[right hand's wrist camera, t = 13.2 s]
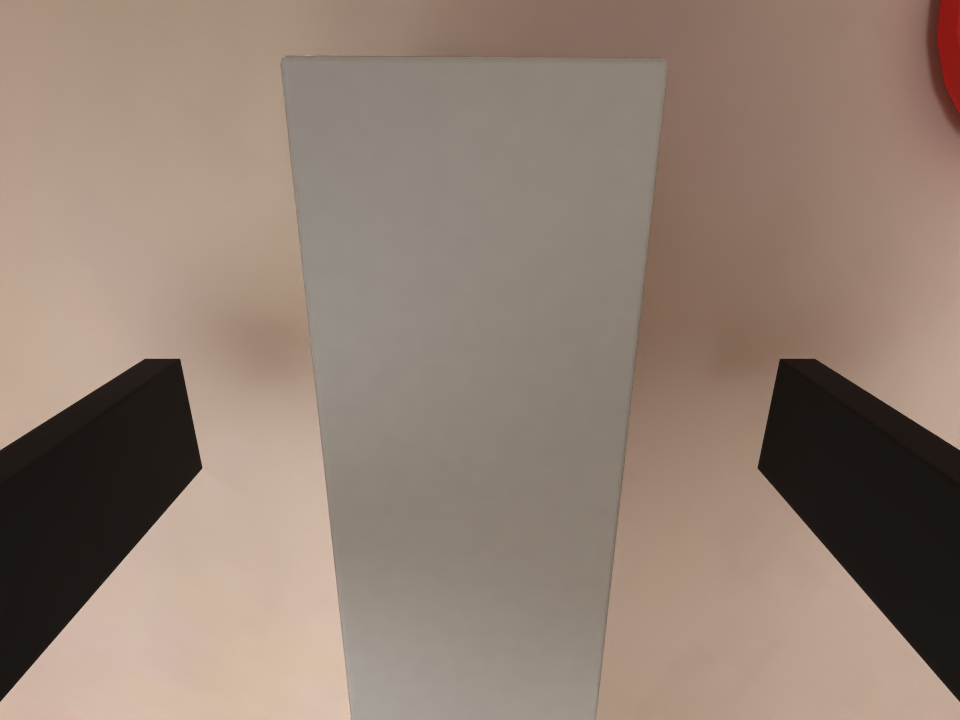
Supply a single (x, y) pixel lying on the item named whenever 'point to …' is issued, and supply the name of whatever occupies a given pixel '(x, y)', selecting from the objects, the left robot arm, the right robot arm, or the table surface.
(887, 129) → the table surface
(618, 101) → the beam
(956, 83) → the tow hook
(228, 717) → the table surface
